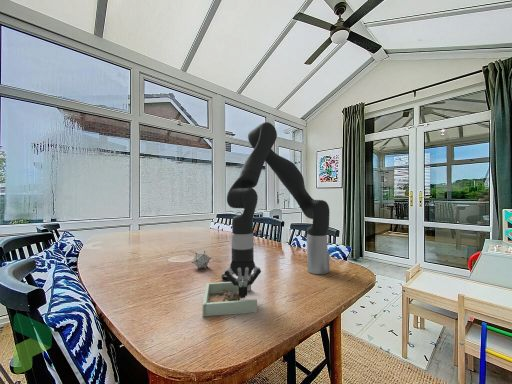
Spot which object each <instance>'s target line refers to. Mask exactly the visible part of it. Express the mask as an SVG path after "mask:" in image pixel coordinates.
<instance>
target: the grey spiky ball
mask: <svg viewBox="0 0 512 384" xmlns="http://www.w3.org/2000/svg"><path fill="white" fill-rule="evenodd" d="M194 254H195V256H194V259H193V261H192V262H191V264H194V265H195V266H196V268H197V271H199V270H200V269H203V268H207V269H208V268H209V266H208V265H209V263H210V260H211V259H212V257H209V256H208V254H207V253H206V250H204V251H203V252H201V253H200V252H199V253H197V252H195V253H194Z"/></svg>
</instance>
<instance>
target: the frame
mask: <svg viewBox="0 0 512 384" xmlns="http://www.w3.org/2000/svg"><path fill="white" fill-rule="evenodd" d="M242 285H243V280H242ZM222 290H229V291H232V292H239V287H238V286H234V285H233V283H232V282H226V281H222V282H207V283H206V284H205V291H204V295H203V300H202V317H211V316H212V317H213V316H223V315H236V314H237V315H239V314H249V313H258V299H257V298H255V299H254V298H253V299H243V300H242V299H240V300H239V301H238V300H234V301H229V300H227V301H226V300H225V302H222V301H214V302H209V297H210V294H218V293H219V292H221V291H222ZM251 291H252V285H248V286H247V292H251Z"/></svg>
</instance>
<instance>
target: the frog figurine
mask: <svg viewBox="0 0 512 384" xmlns="http://www.w3.org/2000/svg"><path fill="white" fill-rule="evenodd" d="M220 296H224V297H223V299H222V301H221V302H225V301H226V300H227V301H236V300H237V301H239V300H241V296H239V292H232V291H229V290H222V291H221V292H219V293H217V295H216V296H215V298H218V297H220Z"/></svg>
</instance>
